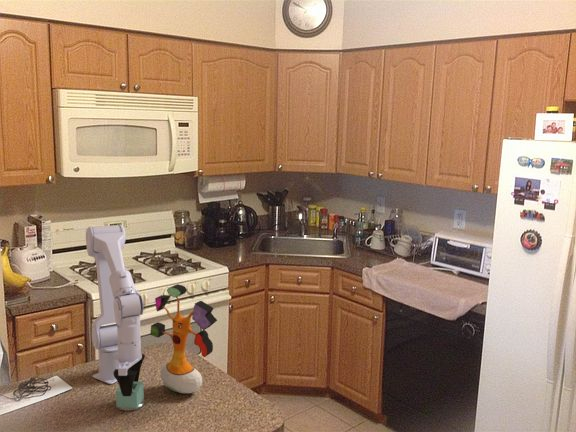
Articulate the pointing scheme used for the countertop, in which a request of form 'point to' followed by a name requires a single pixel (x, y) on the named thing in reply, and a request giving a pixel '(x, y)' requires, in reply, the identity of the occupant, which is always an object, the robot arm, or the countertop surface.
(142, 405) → the post
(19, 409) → the countertop surface
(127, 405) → the collar
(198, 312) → the decorative sculpture
